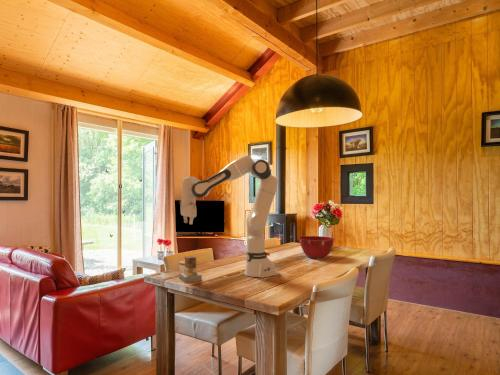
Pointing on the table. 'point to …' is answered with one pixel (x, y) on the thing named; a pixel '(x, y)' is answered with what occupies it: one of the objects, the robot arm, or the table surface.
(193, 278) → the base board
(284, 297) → the table surface
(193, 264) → the walnut block
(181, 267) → the lidded jar
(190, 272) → the oak block
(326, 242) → the mixing bowl
